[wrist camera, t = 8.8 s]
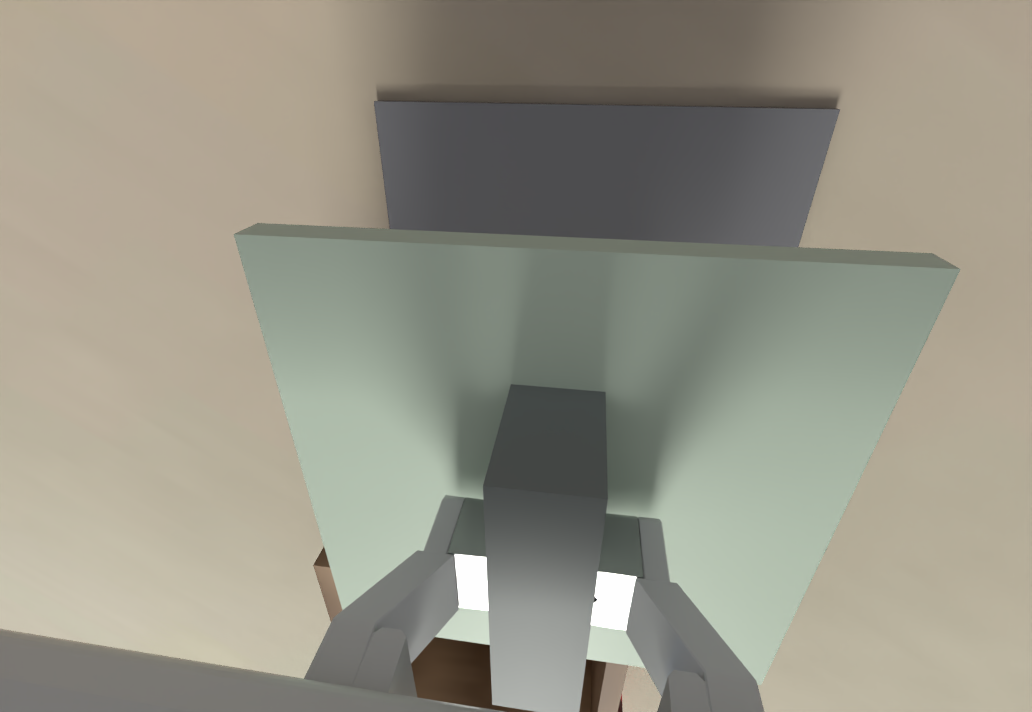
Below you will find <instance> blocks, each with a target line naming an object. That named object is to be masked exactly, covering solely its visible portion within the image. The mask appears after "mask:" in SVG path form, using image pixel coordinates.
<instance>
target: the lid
mask: <svg viewBox="0 0 1032 712" xmlns="http://www.w3.org/2000/svg"><path fill="white" fill-rule="evenodd" d="M234 237H235V240H236V244H237V247H238V251H239V254H240V258H241V261H242V265H243V268H244V271H245V275H246V278H247V282H248V285H249V289H250V292H251V296H252V299H253V303H254V306H255V309H256V313H257V316H258V320H259V323H260V327H261V330H262V334H263V337H264V341H265V344H266V347H267V351H268V354H269V358H270V361H271V365H272V368H273V372H274V375H275V379H276V382H277V385H278V389H279V392H280V396H281V399H282V403H283V406H284V410H285V413H286V417H287V420H288V423H289V427H290V430H291V434H292V437H293V441H294V444H295V448H296V451H297V455H298V458H299V461H300V465H301V468H302V472H303V475H304V479H305V482H306V486H307V489H308V493H309V496H310V499H311V503H312V506H313V510H314V513H315V517H316V520H317V524H318V527H319V531H320V534H321V538H322V541H323V544H324V548H325V551H326V555H327V558H328V562H329V565H330V569H331V572H332V576H333V579H334V582H335V586H336V589H337V593H338V596H339V600H340V603H341V607H342V610H344V609H345V608H346V607H347V606H349V605H350V604H351V603H352V602H354V601H355V600H356V599H357V598H359V597H360V596H361V595H362V594H364V593H365V592H366V591H367V590H369V589H370V588H371V587H372V586H374V585H375V584H376V583H377V582H378V581H380V580H381V579H382V578H383V577H385V576H386V575H387V574H388V573H390V572H391V571H392V570H393V569H395V568H396V567H397V566H398V565H400V564H401V563H402V562H403V561H405V560H406V559H407V558H408V557H410V556H411V555H412V554H413V553H415V552H416V551H417V550H420V551H423V550H424V548H425V545H426V542H427V539H428V537H429V534H430V531H431V528H432V526H433V523H434V520H435V517H436V515H437V512H438V509H439V506H440V504H441V501H442V499H443V498H444V496H445V495H451V496H458V497H468V498H475V499H482V500H484V523H485V546H486V570H487V593H488V610H479V609H470V608H461V607H458V609H459V610H458V611H457V612H456V613H455V614H454V615H453V617H452V618H451V619H450V620H449V621H448V622H447V623H446V625H445V626H444V627H443V628H442V629H441V630H440V631H439V633H438V634H437V635H436V636H435V637H439V638H446V639H452V640H459V641H466V642H473V643H480V644H486V645H490V663H491V686H492V705H497V706H503V707H509V708H516V709H522V710H528V711H534V712H579V710H580V703H581V696H582V688H583V681H584V673H585V666H586V659H588V660H595V661H602V662H609V663H616V664H622V665H629V666H636V667H643V668H645V666H644V664H643V662H642V661H641V659H640V657H639V655H638V653H637V652H636V650H635V648H634V646H633V644H632V643H631V641H630V639H629V637H628V636H627V634H626V631H625V630H619V629H613V628H607V627H602V626H596V625H591V621H592V614H593V606H594V599H595V591H596V584H597V576H598V569H599V562H600V554H601V547H602V539H603V532H604V524H605V517H606V513H609V514H619V515H629V516H636V517H646V518H656V519H660V520H661V522H662V527H663V534H664V541H665V548H666V555H667V562H668V569H669V576H670V582H673V583H678V585H679V586H680V587H681V588H682V590H683V591H684V592H685V593H686V595H687V596H688V597H689V598H690V599H691V601H692V602H693V603H694V604H695V606H696V607H697V608H698V609H699V611H700V612H701V613H702V614H703V615H704V617H705V618H706V619H707V620H708V622H709V623H710V624H711V625H712V627H713V628H714V629H715V630H716V631H717V633H718V634H719V635H720V636H721V638H722V639H723V640H724V641H725V643H726V644H727V645H728V646H729V647H730V649H731V650H732V651H733V652H734V654H735V655H736V656H737V657H738V659H739V660H740V661H741V662H742V664H743V665H744V666H745V667H746V668H747V670H748V671H749V672H750V673H751V675H752V676H753V677H754V678H755V680H756V681H757V684H758V685H761V684H762V682H763V680H764V678H765V676H766V674H767V672H768V669H769V667H770V665H771V663H772V661H773V659H774V657H775V655H776V653H777V651H778V649H779V647H780V644H781V642H782V640H783V638H784V636H785V634H786V632H787V630H788V628H789V626H790V624H791V621H792V619H793V617H794V615H795V613H796V611H797V609H798V607H799V605H800V603H801V601H802V599H803V596H804V594H805V592H806V590H807V588H808V586H809V584H810V582H811V580H812V578H813V576H814V574H815V571H816V569H817V567H818V565H819V563H820V561H821V559H822V557H823V555H824V553H825V551H826V549H827V546H828V544H829V542H830V540H831V538H832V536H833V534H834V532H835V530H836V528H837V526H838V523H839V521H840V519H841V517H842V515H843V513H844V511H845V509H846V507H847V505H848V503H849V501H850V498H851V496H852V494H853V492H854V490H855V488H856V486H857V484H858V482H859V480H860V478H861V476H862V473H863V471H864V469H865V467H866V465H867V463H868V461H869V459H870V457H871V455H872V453H873V450H874V448H875V446H876V444H877V442H878V440H879V438H880V436H881V434H882V432H883V430H884V428H885V425H886V423H887V421H888V419H889V417H890V415H891V413H892V411H893V409H894V407H895V405H896V403H897V400H898V398H899V396H900V394H901V392H902V390H903V388H904V386H905V384H906V382H907V380H908V377H909V375H910V373H911V371H912V369H913V367H914V365H915V363H916V361H917V359H918V357H919V355H920V352H921V350H922V348H923V346H924V344H925V342H926V340H927V338H928V336H929V334H930V332H931V330H932V327H933V325H934V323H935V321H936V319H937V317H938V315H939V313H940V311H941V309H942V307H943V304H944V302H945V300H946V298H947V296H948V294H949V292H950V290H951V288H952V286H953V284H954V282H955V279H956V277H957V275H958V273H959V271H960V269H959V268H957V267H956V266H954V265H952V264H950V263H949V262H947V261H945V260H943V259H941V258H940V257H938V256H936V255H934V254H933V253H912V252H889V251H867V250H845V249H822V248H800V247H778V246H756V245H733V244H711V243H689V242H666V241H644V240H622V239H599V238H577V237H555V236H532V235H510V234H488V233H465V232H443V231H421V230H399V229H376V228H354V227H332V226H309V225H287V224H265V223H257V224H255V225H253V226H250V227H248V228H246V229H244V230H242V231H240V232H238V233H235V234H234Z"/></svg>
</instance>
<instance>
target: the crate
mask: <svg viewBox="0 0 1032 712" xmlns="http://www.w3.org/2000/svg"><path fill="white" fill-rule="evenodd" d="M313 566H314V569H315V572H316V575H317V579H318V582H319V585H320V588H321V591H322V595H323V598H324V601H325V604H326V607H327V611H328V614H329V617H330V620H331V622H332V620H333V618H334V617H335V616H336V615H337V614H339V613H340V612H341V611H342V607H341V603H340V600H339V596H338V593H337V589H336V586H335V582H334V579H333V576H332V572H331V569H330V565H329V562H328V558H327V555H326V551H325V548H323V549H322V551H321V553H320V555H319V556H318V558H317V560H316V561H315V563H314V565H313ZM411 666H412V671H413V677H414V682H415V687H416V693H417V697H418V698H424V699H430V700H437V701H443V702H449V703H455V704H461V705H467V706H473V707H480V708H486V709H492V710H498V711H504V712H534V711H528V710H522V709H516V708H509V707H503V706H497V705H492V686H491V663H490V645H486V644H480V643H473V642H466V641H459V640H452V639H446V638H439V637H434V638H433V639H432V640H431V642H430V643H429V644H428V645H427V646H426V647H425V648H424V650H423V651H422V652H421V653H420V654H419V655H418V656H417V658H416V659H415V660H414V661H413V662H412V663H411ZM627 668H628V665H622V664H616V663H609V662H602V661H595V660H588V659H586V666H585V673H584V681H583V688H582V696H581V703H580V710H579V712H618V708H619V703H620V699H621V694H622V690H623V686H624V681H625V677H626V672H627Z"/></svg>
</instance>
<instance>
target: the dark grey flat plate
mask: <svg viewBox="0 0 1032 712" xmlns="http://www.w3.org/2000/svg"><path fill="white" fill-rule="evenodd" d="M374 106H375V114H376V122H377V130H378V138H379V146H380V154H381V162H382V170H383V178H384V186H385V194H386V202H387V210H388V218H389V226H390V229H399V230H421V231H443V232H465V233H488V234H510V235H532V236H555V237H577V238H599V239H622V240H644V241H666V242H689V243H711V244H733V245H756V246H778V247H798V246H799V243H800V239H801V236H802V233H803V230H804V226H805V223H806V220H807V216H808V213H809V210H810V207H811V203H812V200H813V197H814V193H815V190H816V187H817V183H818V180H819V177H820V174H821V170H822V167H823V164H824V160H825V157H826V154H827V151H828V147H829V144H830V141H831V137H832V134H833V131H834V128H835V124H836V121H837V118H838V114H839V111H840V109H816V108H758V107H700V106H642V105H583V104H525V103H467V102H409V101H374Z"/></svg>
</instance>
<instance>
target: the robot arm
mask: <svg viewBox="0 0 1032 712" xmlns="http://www.w3.org/2000/svg"><path fill="white" fill-rule="evenodd" d="M458 607H461V608H470V609H479V610H488V593H487V570H486V546H485V523H484V500H482V499H475V498H468V497H458V496H451V495H445V496H444V498H443V499H442V501H441V504H440V506H439V509H438V512H437V515H436V517H435V520H434V523H433V526H432V528H431V531H430V534H429V537H428V539H427V542H426V545H425V548H424V550H423V551H420V550H417V551H416V552H415V553H413V554H412V555H411V556H410V557H408V558H407V559H406V560H405V561H403V562H402V563H401V564H400V565H398V566H397V567H396V568H395V569H393V570H392V571H391V572H390V573H388V574H387V575H386V576H385V577H383V578H382V579H381V580H380V581H378V582H377V583H376V584H375V585H374V586H372V587H371V588H370V589H369V590H367V591H366V592H365V593H364V594H362V595H361V596H360V597H359V598H357V599H356V600H355V601H354V602H352V603H351V604H350V605H349V606H347V607H346V608H345V609H344V610H342V611H341V612H340V613H339V614H337V615H336V616H335V617H334V618H333V620H332V622H331V624H330V626H329V628H328V630H327V632H326V634H325V636H324V638H323V641H322V643H321V645H320V647H319V649H318V651H317V653H316V655H315V657H314V659H313V661H312V663H311V665H310V667H309V669H308V671H307V673H306V676H305V678H304V679H302V678H296V677H290V676H284V675H277V674H271V673H265V672H259V671H253V670H247V669H241V668H235V667H229V666H222V665H216V664H210V663H204V662H198V661H192V660H186V659H180V658H174V657H168V656H162V655H156V654H149V653H143V652H137V651H131V650H125V649H119V648H113V647H107V646H101V645H95V644H89V643H83V642H77V641H71V640H64V639H58V638H52V637H46V636H40V635H34V634H28V633H22V632H16V631H10V630H4V629H0V712H504V711H498V710H492V709H486V708H480V707H473V706H467V705H461V704H455V703H449V702H443V701H437V700H430V699H424V698H418V697H417V693H416V687H415V682H414V677H413V671H412V666H411V663H412V662H413V661H414V660H415V659H416V658H417V656H418V655H419V654H420V653H421V652H422V651H423V650H424V648H425V647H426V646H427V645H428V644H429V643H430V642H431V640H432V639H433V638H434V637H435V636H436V635H437V634H438V633H439V631H440V630H441V629H442V628H443V627H444V626H445V625H446V623H447V622H448V621H449V620H450V619H451V618H452V617H453V615H454V614H455V613H456V612H457V611H458V610H459V609H458ZM591 625H596V626H602V627H607V628H613V629H619V630H625V631H626V634H627V636H628V637H629V639H630V641H631V643H632V644H633V646H634V648H635V650H636V652H637V653H638V655H639V657H640V659H641V661H642V662H643V664H644V666H645V668H646V670H647V671H648V673H649V675H650V677H651V678H652V680H653V682H654V684H655V686H656V687H657V689H658V691H659V693H660V695H661V696H662V698H661V701H660V705H659V708H658V711H657V712H764V709H763V705H762V701H761V697H760V693H759V689H758V685H757V681H756V680H755V678H754V677H753V676H752V675H751V673H750V672H749V671H748V670H747V668H746V667H745V666H744V665H743V664H742V662H741V661H740V660H739V659H738V657H737V656H736V655H735V654H734V652H733V651H732V650H731V649H730V647H729V646H728V645H727V644H726V643H725V641H724V640H723V639H722V638H721V636H720V635H719V634H718V633H717V631H716V630H715V629H714V628H713V627H712V625H711V624H710V623H709V622H708V620H707V619H706V618H705V617H704V615H703V614H702V613H701V612H700V611H699V609H698V608H697V607H696V606H695V604H694V603H693V602H692V601H691V599H690V598H689V597H688V596H687V595H686V593H685V592H684V591H683V590H682V588H681V587H680V586H679V585H678V583H673V582H670V576H669V569H668V562H667V555H666V548H665V541H664V534H663V527H662V522H661V520H660V519H656V518H646V517H636V516H629V515H619V514H609V513H606V517H605V524H604V532H603V539H602V547H601V554H600V562H599V569H598V576H597V584H596V591H595V599H594V606H593V614H592V621H591Z"/></svg>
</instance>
